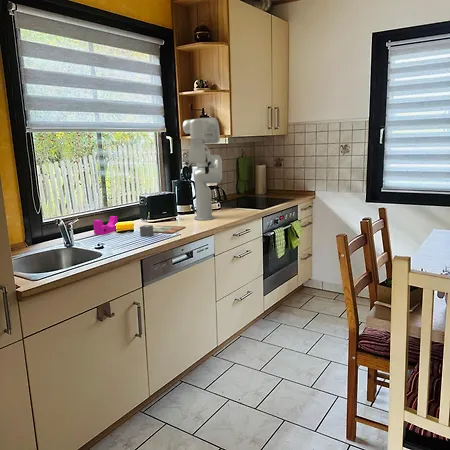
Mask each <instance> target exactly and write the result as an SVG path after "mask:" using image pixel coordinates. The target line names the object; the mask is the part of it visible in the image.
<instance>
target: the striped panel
mask: <svg viewBox="0 0 450 450" xmlns="http://www.w3.org/2000/svg"><path fill="white" fill-rule="evenodd" d="M186 227H187V226H182V225H181V226H179V225H178V226H177V225H153V234H159V233H162V234H161V235H173V234H175V233H178V232H179V231H181V230H184V229H186Z"/></svg>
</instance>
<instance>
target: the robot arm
mask: <svg viewBox="0 0 450 450" xmlns="http://www.w3.org/2000/svg"><path fill="white" fill-rule="evenodd" d="M182 130H183V132H184V133H185V134H186V135H187V134H190V135H189V137H190V145H189V147H188V155H187V156H186V157H184V158H183V162H184V163H185V165H186V167H188V173H189V174H190V175H192V174H193V181H194V186H195V187H194V189H195V205H196V216H194V220H197V221H209V220H214V219H215V216H214V215H213V212H214V211H213V210H212V207H213V206H212V191H211V188H210V187H209V185H208V184H218V183H221V182H222V180H223V160H222V158H221V156H220V155H219V154H211V150H210V148H208V146H207V145H206V144H208V145H210V144H218V143H219V142H220V139H221V135H220V124H219V120H218V119H217V118H215V117H200V118H193V119H185V120H184V121H183V122H182ZM193 164H196V167H197V168H196V169H193ZM193 170H194V171H193Z"/></svg>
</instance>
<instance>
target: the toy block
mask: <svg viewBox="0 0 450 450" xmlns="http://www.w3.org/2000/svg"><path fill="white" fill-rule="evenodd" d="M118 221H119V219H118V216H117V215H116V216H114V215H111V216H109V220H108V222H107V224H104V223H103V220H101V219H94V220H92V224H93V234H94V235H97V236H98V235H99V236H104V235H107V234H111V233H114V231H115V230H116V226H115V224H116V223H118ZM118 224H119V223H118ZM116 231H117V230H116ZM116 231H115V232H116Z"/></svg>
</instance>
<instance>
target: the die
mask: <svg viewBox="0 0 450 450" xmlns="http://www.w3.org/2000/svg"><path fill="white" fill-rule="evenodd" d="M153 227H154V225H151V224H149V225H148V224H144V225H141V226H139V233H140V234H139V235H140V237H146V236H148V238H149V237H151V236H154V234H155V233H153Z"/></svg>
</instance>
